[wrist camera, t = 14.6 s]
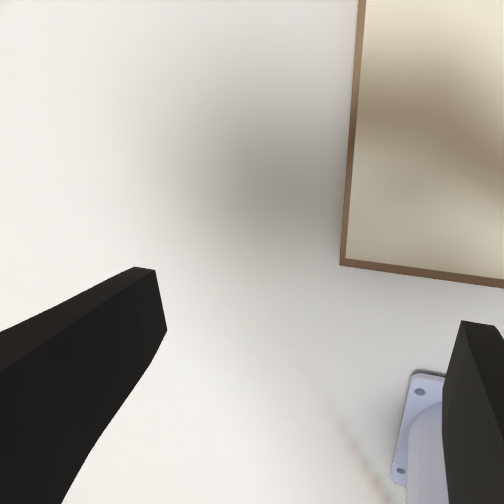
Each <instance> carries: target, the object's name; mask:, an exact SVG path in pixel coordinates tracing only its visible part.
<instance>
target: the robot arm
mask: <svg viewBox="0 0 504 504" xmlns="http://www.w3.org/2000/svg"><path fill="white" fill-rule="evenodd" d="M166 332H167V326H166V321H165V316H164V311H163V306H162V301H161V296H160V292H159V287H158V282H157V277H156V272H155V270H152V269H146V268H140V267H133V268H130V269H128V270H126V271H124V272H121V273H119V274H117V275H115V276H113V277H111V278H109V279H107V280H105V281H103V282H101V283H99V284H97V285H95V286H93V287H92V288H90V289H88V290H86V291H84V292H82V293H80V294H78V295H76V296H74V297H72V298H70V299H68V300H66V301H64V302H62V303H60V304H58V305H57V306H55V307H53V308H50V309H48V310H46V311H44V312H42V313H40V314H38V315H36V316H34V317H31V318H29V319H27V320H25V321H23V322H21V323H19V324H17V325H15V326H12V327H10V328H8V329H6V330H3V331H1V332H0V504H61V503H62V501H63V499H64V497H65V496H66V494H67V492H68V490H69V488H70V486H71V485H72V483H73V481H74V479H75V477H76V476H77V474H78V472H79V470H80V469H81V467H82V465H83V463H84V462H85V460H86V458H87V456H88V454H89V453H90V451H91V450H92V448H93V447H94V445H95V443H96V442H97V440H98V439H99V437H100V436H101V434H102V433H103V431H104V430H105V429H106V427H107V426H108V424H109V423H110V421H111V420H112V419H113V417H114V416H115V414H116V413H117V411H118V410H119V409H120V407H121V406H122V404H123V403H124V401H125V400H126V399H127V397H128V396H129V394H130V393H131V391H132V390H133V389H134V387H135V386H136V384H137V383H138V381H139V380H140V378H141V377H142V375H143V374H144V372H145V371H146V369H147V368H148V366H149V365H150V363H151V362H152V360H153V358H154V356H155V354H156V352H157V350H158V348H159V346H160V344H161V342H162V340H163V338H164V336H165V334H166ZM418 388H421V389H423V390H419V389H418ZM390 479H391V481H392V482H394V483H395V484H398V485H401V486H405V487H407V500H406V504H504V339H503V337H502V336H501V334H500V332H499V331H498V330H497V328H496V327H495V326H493V325H487V324H480V323H474V322H468V321H462V320H461V323H460V327H459V330H458V334H457V338H456V341H455V345H454V348H453V352H452V355H451V359H450V363H449V366H448V370H447V373H446V377H445V378H444V377H439V376H434V375H429V374H424V373H417V374H414V375H413V376H412V378H411V381H410V386H409V391H408V395H407V400H406V404H405V409H404V413H403V418H402V423H401V427H400V432H399V436H398V441H397V445H396V450H395V455H394V459H393V464H392V468H391V473H390Z"/></svg>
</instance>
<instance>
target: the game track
mask: <svg viewBox="0 0 504 504" xmlns="http://www.w3.org/2000/svg"><path fill="white" fill-rule="evenodd" d="M339 265H340V266H347V267H354V268H361V269H368V270H375V271H383V272H390V273H397V274H404V275H411V276H418V277H425V278H433V279H440V280H447V281H454V282H461V283H468V284H475V285H483V286H490V287H497V288H504V0H359V5H358V19H357V32H356V46H355V60H354V73H353V87H352V100H351V114H350V128H349V141H348V155H347V169H346V182H345V196H344V209H343V223H342V237H341V250H340V264H339Z"/></svg>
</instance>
